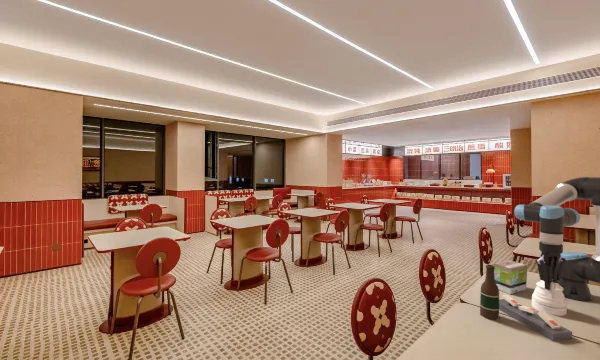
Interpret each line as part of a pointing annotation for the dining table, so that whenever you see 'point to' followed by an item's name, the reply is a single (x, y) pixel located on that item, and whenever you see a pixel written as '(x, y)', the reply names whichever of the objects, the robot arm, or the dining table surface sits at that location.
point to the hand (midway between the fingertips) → (549, 296)
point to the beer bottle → (489, 295)
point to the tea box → (510, 276)
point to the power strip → (534, 322)
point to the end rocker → (549, 320)
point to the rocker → (511, 300)
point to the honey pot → (549, 300)
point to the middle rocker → (528, 309)
